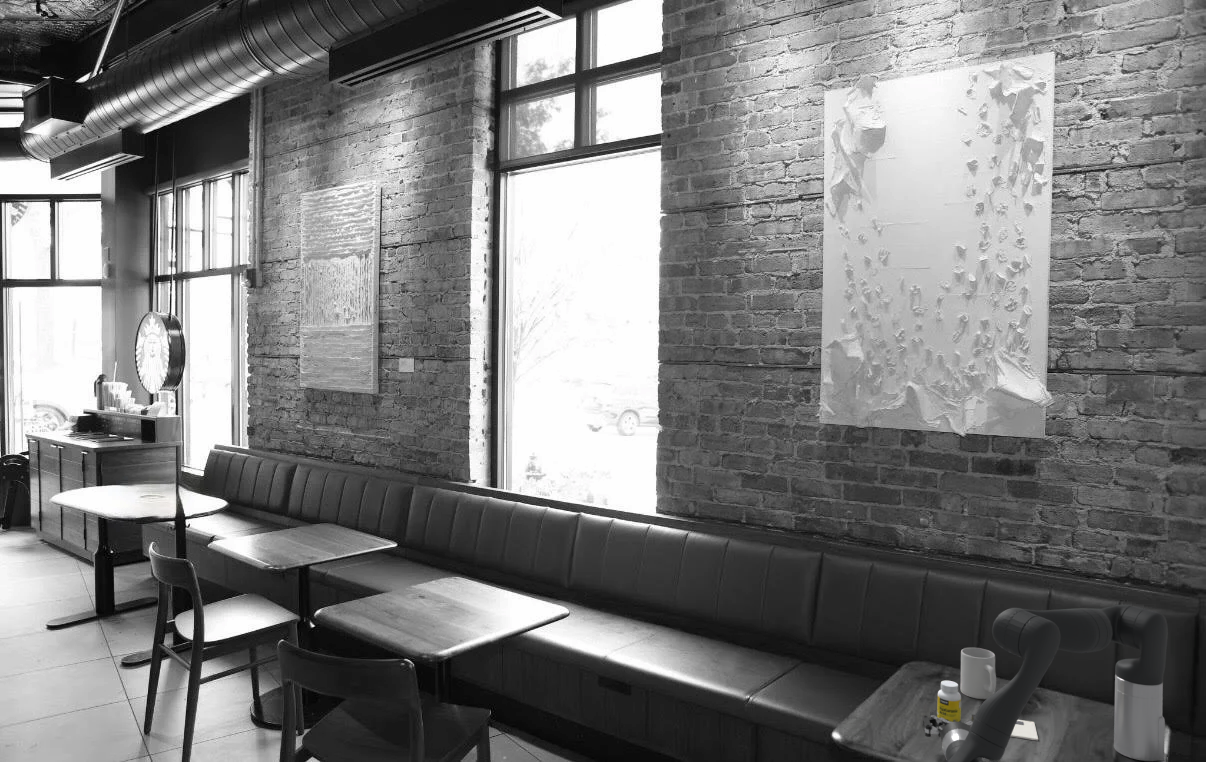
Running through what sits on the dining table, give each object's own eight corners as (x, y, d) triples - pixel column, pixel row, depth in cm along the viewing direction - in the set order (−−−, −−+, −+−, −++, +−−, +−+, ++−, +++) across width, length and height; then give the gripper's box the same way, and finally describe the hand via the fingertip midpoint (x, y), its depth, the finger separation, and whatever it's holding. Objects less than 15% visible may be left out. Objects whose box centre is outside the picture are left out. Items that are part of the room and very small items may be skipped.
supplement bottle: (935, 724, 208) (936, 685, 208) (938, 716, 213) (938, 677, 213) (959, 728, 206) (960, 689, 206) (961, 720, 211) (962, 681, 210)
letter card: (1034, 723, 209) (1034, 721, 209) (1038, 740, 199) (1038, 738, 199) (976, 715, 214) (976, 713, 214) (977, 731, 204) (977, 729, 204)
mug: (954, 687, 231) (954, 648, 231) (983, 686, 232) (983, 646, 232) (978, 705, 220) (979, 663, 219) (1009, 703, 221) (1010, 662, 220)
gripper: (996, 733, 181) (986, 704, 197) (926, 725, 186) (921, 696, 201) (996, 768, 182) (986, 735, 197) (925, 759, 186) (921, 728, 201)
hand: (953, 716), depth 199 cm, fingers open, 8 cm apart
